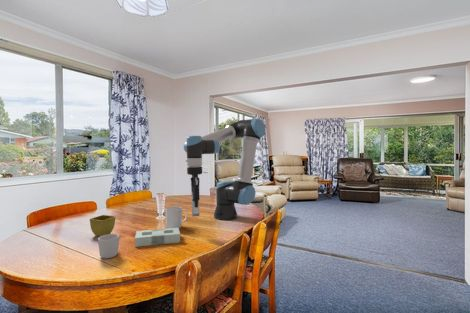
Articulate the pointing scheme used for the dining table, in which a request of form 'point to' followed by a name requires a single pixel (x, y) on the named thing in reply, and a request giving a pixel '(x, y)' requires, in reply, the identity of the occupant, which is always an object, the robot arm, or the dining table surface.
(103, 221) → the flower pot
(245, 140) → the robot arm
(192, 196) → the peg
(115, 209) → the dining table surface
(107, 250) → the cup
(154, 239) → the hole block
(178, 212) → the mug
